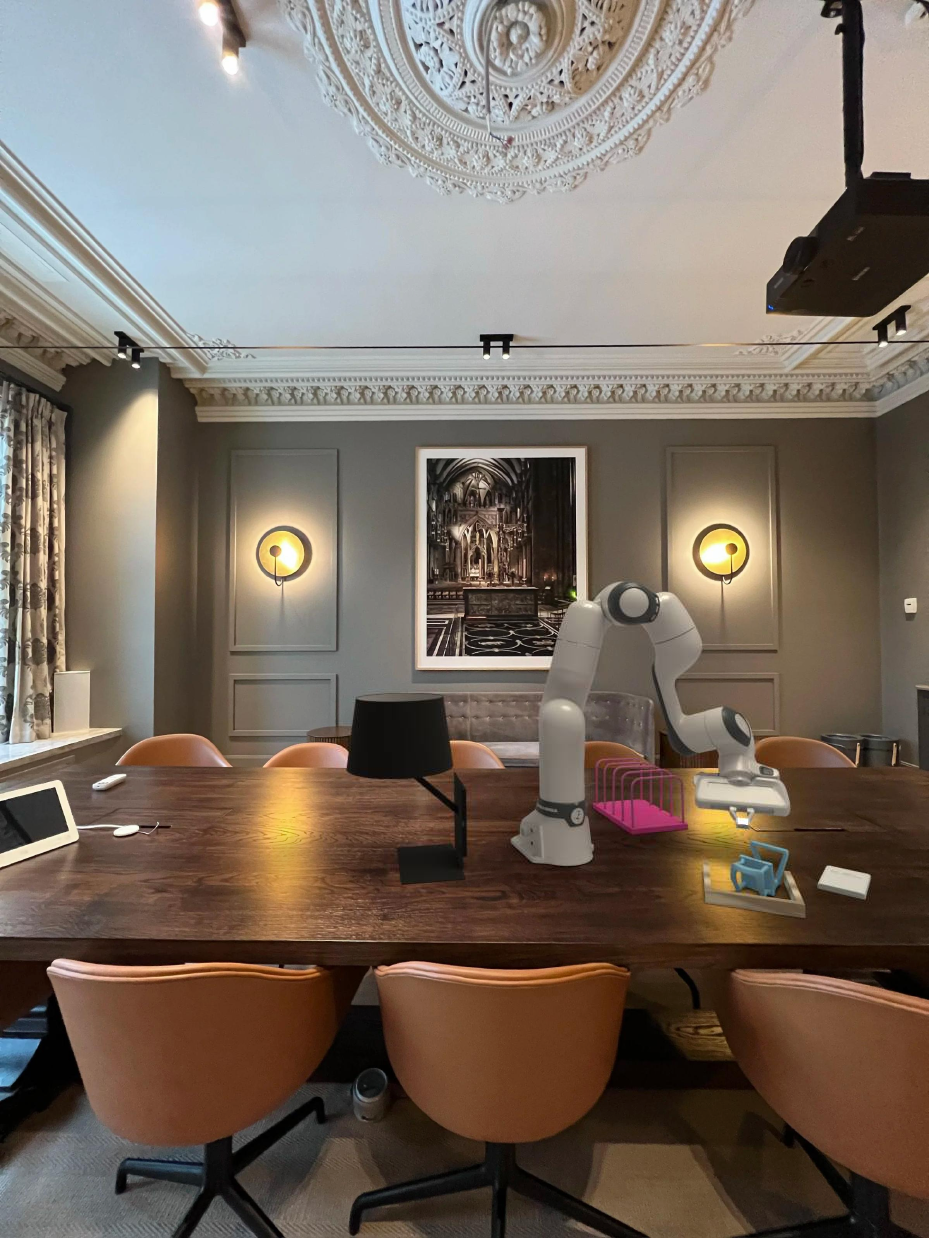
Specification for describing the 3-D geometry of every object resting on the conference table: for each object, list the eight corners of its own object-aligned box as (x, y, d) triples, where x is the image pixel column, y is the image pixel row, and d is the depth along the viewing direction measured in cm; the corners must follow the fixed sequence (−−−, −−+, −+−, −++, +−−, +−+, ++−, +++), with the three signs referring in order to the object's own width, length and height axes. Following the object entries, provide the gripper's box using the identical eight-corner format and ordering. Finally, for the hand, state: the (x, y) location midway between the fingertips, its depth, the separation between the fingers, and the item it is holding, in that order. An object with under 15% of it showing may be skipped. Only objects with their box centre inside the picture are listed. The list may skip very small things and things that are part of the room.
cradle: (703, 871, 126) (702, 860, 126) (790, 883, 120) (790, 871, 120) (705, 902, 111) (705, 890, 111) (805, 918, 104) (804, 904, 105)
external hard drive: (817, 890, 117) (826, 871, 126) (865, 901, 112) (871, 881, 121) (817, 882, 117) (826, 864, 127) (864, 893, 112) (870, 873, 121)
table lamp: (473, 882, 122) (471, 700, 123) (343, 893, 117) (343, 704, 119) (456, 841, 147) (454, 690, 149) (348, 849, 142) (348, 693, 144)
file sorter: (642, 804, 179) (641, 755, 179) (688, 830, 154) (687, 773, 155) (592, 808, 175) (591, 758, 176) (631, 835, 151) (630, 777, 151)
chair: (754, 876, 123) (727, 897, 116) (751, 839, 123) (724, 858, 116) (791, 888, 117) (766, 911, 110) (788, 849, 117) (762, 870, 109)
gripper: (692, 764, 138) (693, 815, 128) (786, 770, 130) (795, 825, 120) (692, 778, 142) (694, 829, 132) (783, 785, 134) (792, 839, 124)
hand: (743, 827), depth 126 cm, fingers closed
